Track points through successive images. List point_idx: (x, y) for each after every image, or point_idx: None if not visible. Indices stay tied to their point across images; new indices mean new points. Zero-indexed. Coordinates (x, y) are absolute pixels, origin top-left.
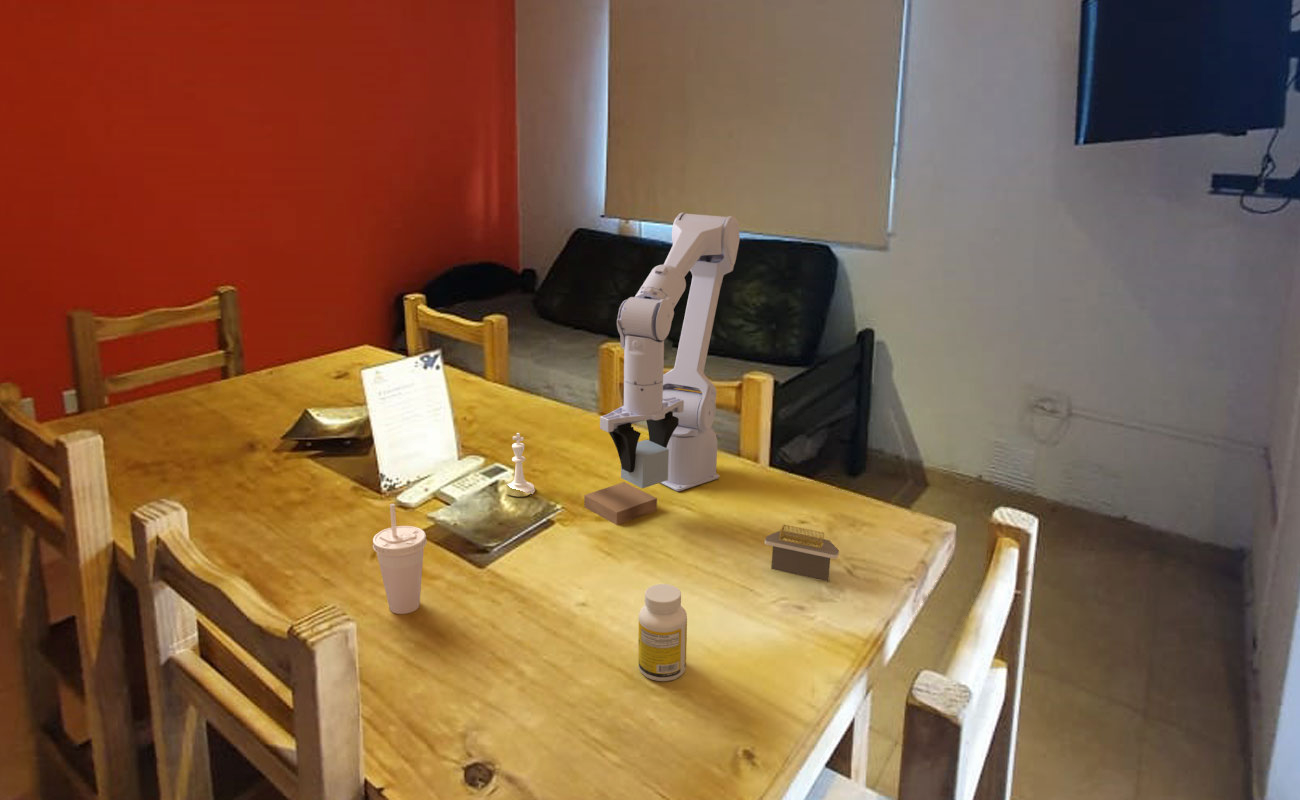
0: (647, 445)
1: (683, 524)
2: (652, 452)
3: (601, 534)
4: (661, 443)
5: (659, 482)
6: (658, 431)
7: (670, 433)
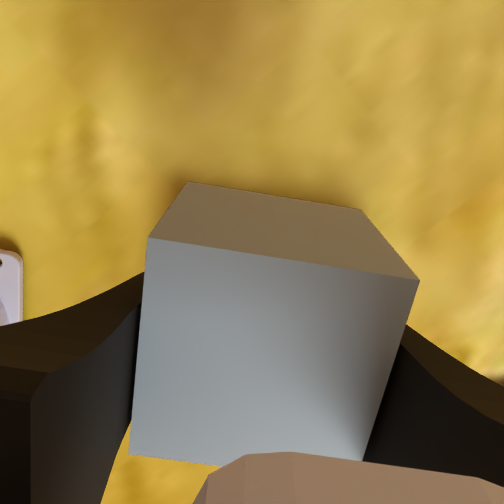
0: (210, 390)
1: (204, 67)
2: (295, 285)
3: (451, 237)
4: (126, 333)
5: (245, 191)
6: (92, 430)
7: (26, 333)
